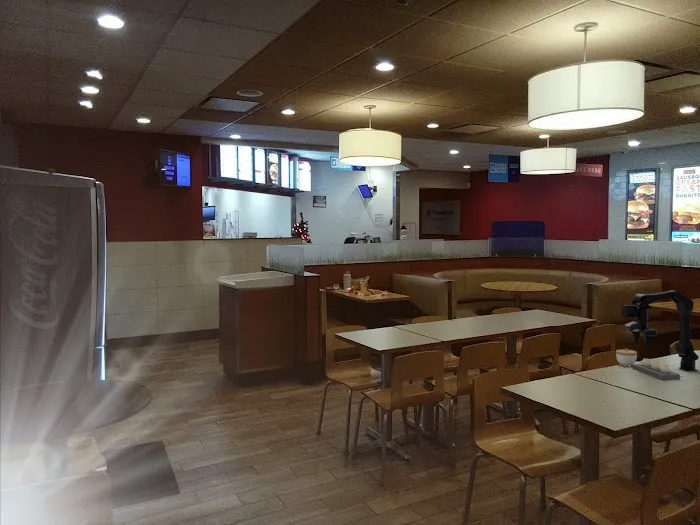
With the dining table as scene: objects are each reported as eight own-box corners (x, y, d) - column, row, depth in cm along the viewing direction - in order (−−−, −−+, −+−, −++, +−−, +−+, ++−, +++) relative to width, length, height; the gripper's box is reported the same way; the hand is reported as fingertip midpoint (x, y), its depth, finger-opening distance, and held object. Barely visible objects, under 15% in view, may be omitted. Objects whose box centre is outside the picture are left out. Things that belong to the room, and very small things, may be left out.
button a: (648, 365, 307) (648, 358, 307) (652, 367, 303) (653, 360, 303) (641, 366, 307) (641, 358, 306) (646, 367, 303) (646, 360, 302)
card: (664, 369, 307) (664, 368, 307) (683, 376, 292) (683, 375, 292) (655, 369, 306) (655, 369, 306) (674, 376, 291) (674, 376, 291)
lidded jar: (611, 363, 321) (611, 347, 321) (624, 361, 326) (624, 346, 325) (627, 367, 311) (628, 351, 311) (641, 365, 316) (641, 349, 315)
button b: (656, 369, 300) (656, 361, 300) (661, 370, 296) (661, 363, 296) (649, 369, 300) (649, 361, 299) (654, 371, 296) (654, 363, 296)
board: (649, 367, 311) (649, 363, 310) (679, 379, 287) (680, 374, 287) (632, 368, 309) (632, 364, 309) (662, 380, 286) (662, 375, 285)
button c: (665, 372, 293) (665, 364, 293) (670, 374, 289) (670, 366, 289) (658, 372, 293) (658, 364, 293) (663, 374, 289) (663, 366, 289)
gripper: (618, 315, 310) (617, 342, 311) (637, 320, 291) (636, 349, 292) (637, 314, 310) (637, 342, 311) (657, 319, 292) (657, 349, 293)
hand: (641, 345), depth 302 cm, fingers open, 9 cm apart
